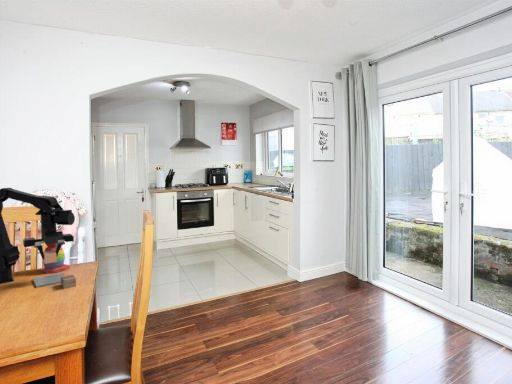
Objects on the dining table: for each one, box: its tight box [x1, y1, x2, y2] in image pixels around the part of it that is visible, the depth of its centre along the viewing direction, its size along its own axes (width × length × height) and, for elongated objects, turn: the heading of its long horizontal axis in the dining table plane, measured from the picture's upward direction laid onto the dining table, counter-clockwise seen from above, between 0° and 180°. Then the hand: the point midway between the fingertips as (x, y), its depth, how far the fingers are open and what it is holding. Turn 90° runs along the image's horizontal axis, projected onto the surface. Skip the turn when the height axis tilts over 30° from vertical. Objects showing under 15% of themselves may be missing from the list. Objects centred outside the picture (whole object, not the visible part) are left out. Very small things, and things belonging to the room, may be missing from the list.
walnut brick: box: [60, 273, 77, 290], centre depth 139 cm, size 6×4×4 cm
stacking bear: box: [42, 243, 71, 274], centre depth 158 cm, size 11×10×18 cm
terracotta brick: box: [42, 251, 57, 264], centre depth 143 cm, size 6×4×4 cm
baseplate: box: [32, 272, 66, 289], centre depth 144 cm, size 12×12×1 cm
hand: (49, 258), depth 143 cm, fingers closed on terracotta brick, 4 cm apart
